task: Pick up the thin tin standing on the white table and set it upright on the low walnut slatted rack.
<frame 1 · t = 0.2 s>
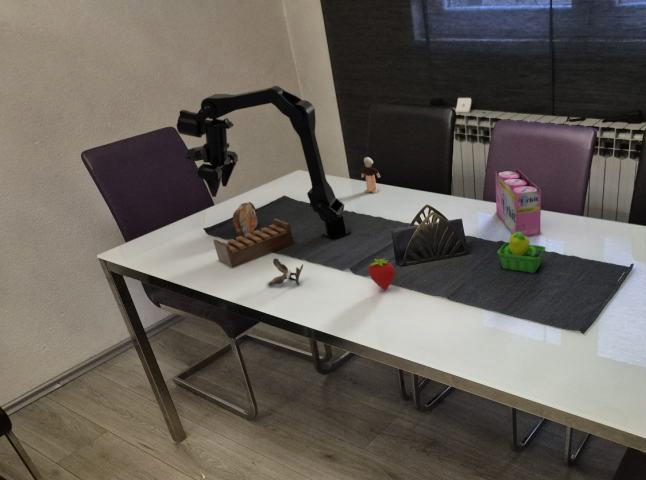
hand: (219, 191, 185), 15 cm above the table, tool pointing down, fingers open, 9 cm apart
fruit basket: (520, 268, 161), on the table
rack: (257, 252, 182), on the table
grandmother figurine: (372, 192, 222), on the table
strawberry: (384, 290, 155), on the table
tin: (248, 231, 197), on the table
gum box: (517, 223, 187), on the table
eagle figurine: (286, 283, 162), on the table
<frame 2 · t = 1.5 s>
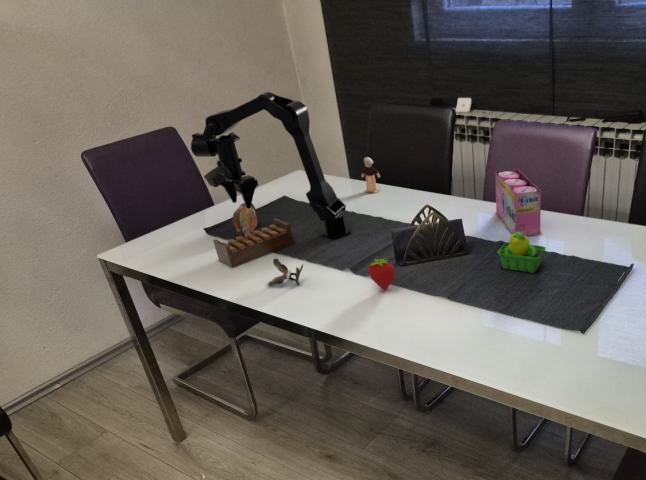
hand: (241, 205, 192), 9 cm above the table, tool pointing down, fingers open, 9 cm apart
nothing on the table moved.
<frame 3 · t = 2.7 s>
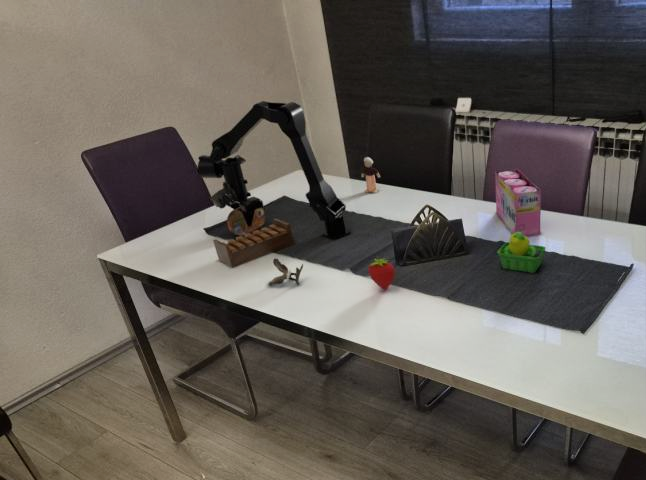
hand: (246, 225, 195), 2 cm above the table, tool pointing down, fingers closed on tin, 3 cm apart
tin: (249, 230, 197), on the table, touching gripper
everything else where it was.
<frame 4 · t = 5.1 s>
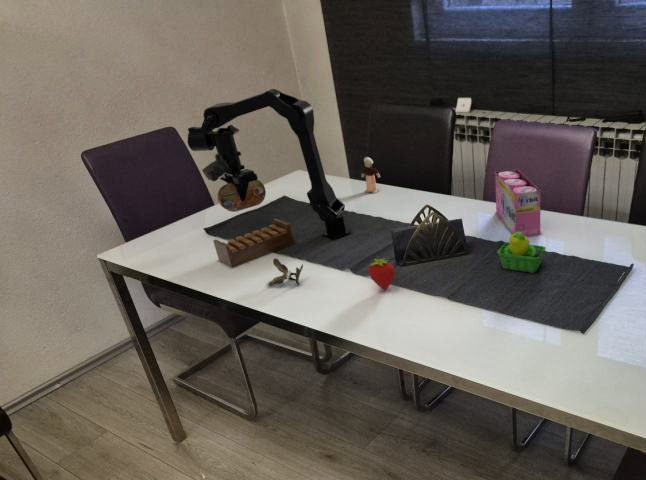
hand: (241, 200, 187), 12 cm above the table, tool pointing down, fingers closed on tin, 2 cm apart
tin: (244, 208, 189), point 9 cm above the table, touching gripper
everything else where it was.
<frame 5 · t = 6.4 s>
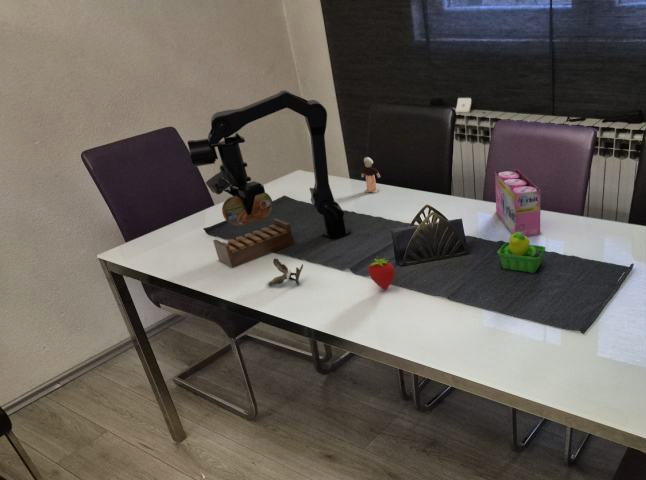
hand: (247, 213, 176), 12 cm above the table, tool pointing down, fingers closed on tin, 2 cm apart
tin: (250, 221, 178), point 9 cm above the table, touching gripper
everything else where it was.
when the fingers open (8 cm above the table, at t = 7.5 s): tin stays where it is, resting on rack.
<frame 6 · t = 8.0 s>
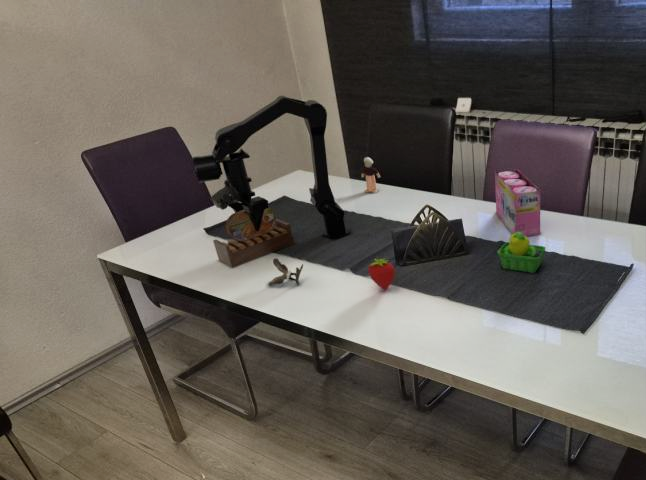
hand: (250, 227, 177), 8 cm above the table, tool pointing down, fingers open, 7 cm apart
tin: (254, 236, 179), point 5 cm above the table, touching rack
everything else where it was.
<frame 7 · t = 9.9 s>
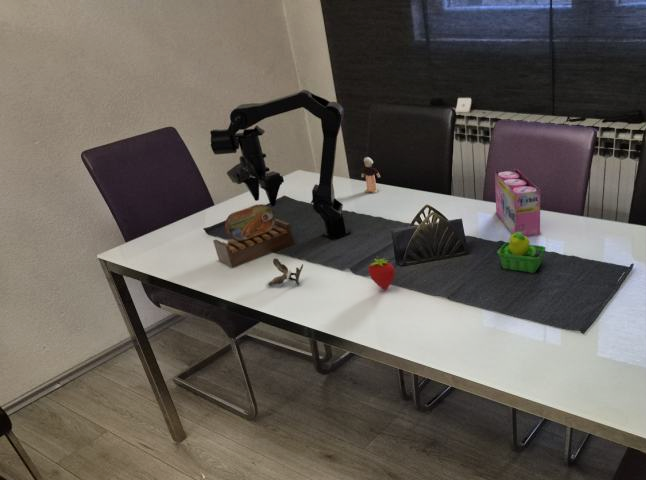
hand: (265, 203, 183), 12 cm above the table, tool pointing down, fingers open, 9 cm apart
nothing on the table moved.
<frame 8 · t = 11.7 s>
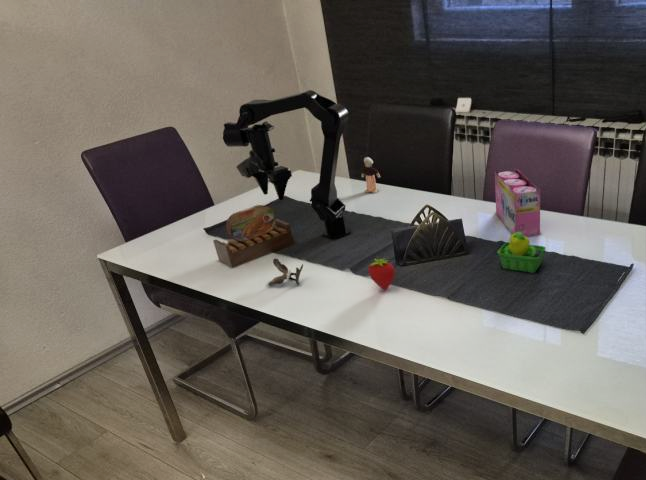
hand: (273, 197, 187), 12 cm above the table, tool pointing down, fingers open, 9 cm apart
nothing on the table moved.
at the end: tin 0.6 cm off-centre on the rack, point 4.8 cm above the rack's base; tin tilted 0°; the gripper is holding nothing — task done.
